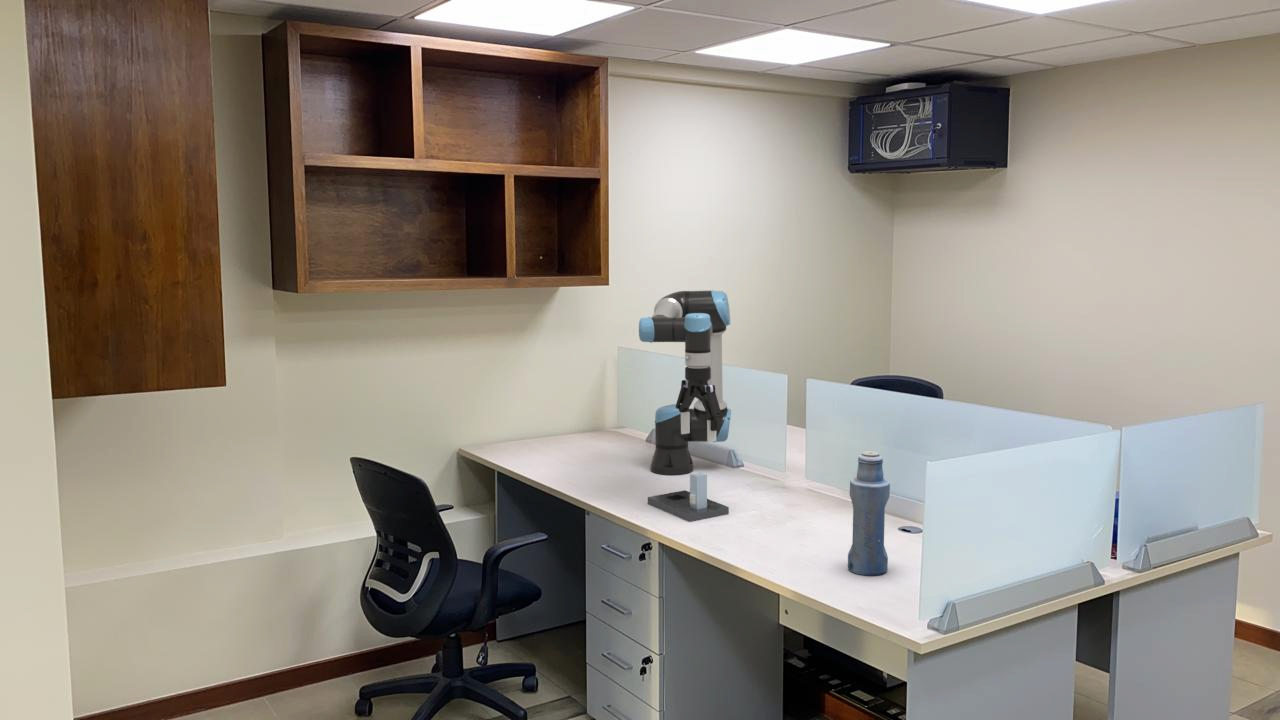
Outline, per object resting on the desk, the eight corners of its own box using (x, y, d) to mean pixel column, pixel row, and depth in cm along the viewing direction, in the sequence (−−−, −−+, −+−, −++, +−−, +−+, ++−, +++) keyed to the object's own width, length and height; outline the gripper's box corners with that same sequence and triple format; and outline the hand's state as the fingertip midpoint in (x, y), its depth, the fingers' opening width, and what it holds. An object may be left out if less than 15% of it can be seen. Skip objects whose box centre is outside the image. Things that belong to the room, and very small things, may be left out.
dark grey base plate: (685, 499, 316) (685, 490, 315) (728, 516, 296) (728, 506, 296) (647, 506, 308) (647, 497, 308) (690, 524, 289) (689, 514, 289)
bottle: (849, 561, 255) (851, 447, 251) (889, 565, 252) (891, 449, 248) (846, 574, 246) (847, 455, 242) (887, 577, 243) (889, 457, 239)
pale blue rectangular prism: (700, 511, 300) (699, 472, 298) (707, 514, 297) (706, 474, 295) (688, 513, 297) (688, 474, 296) (695, 516, 294) (694, 476, 293)
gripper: (663, 362, 300) (664, 431, 303) (712, 372, 279) (712, 446, 282) (684, 360, 304) (685, 428, 307) (734, 370, 283) (734, 443, 286)
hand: (698, 437), depth 294 cm, fingers open, 13 cm apart
